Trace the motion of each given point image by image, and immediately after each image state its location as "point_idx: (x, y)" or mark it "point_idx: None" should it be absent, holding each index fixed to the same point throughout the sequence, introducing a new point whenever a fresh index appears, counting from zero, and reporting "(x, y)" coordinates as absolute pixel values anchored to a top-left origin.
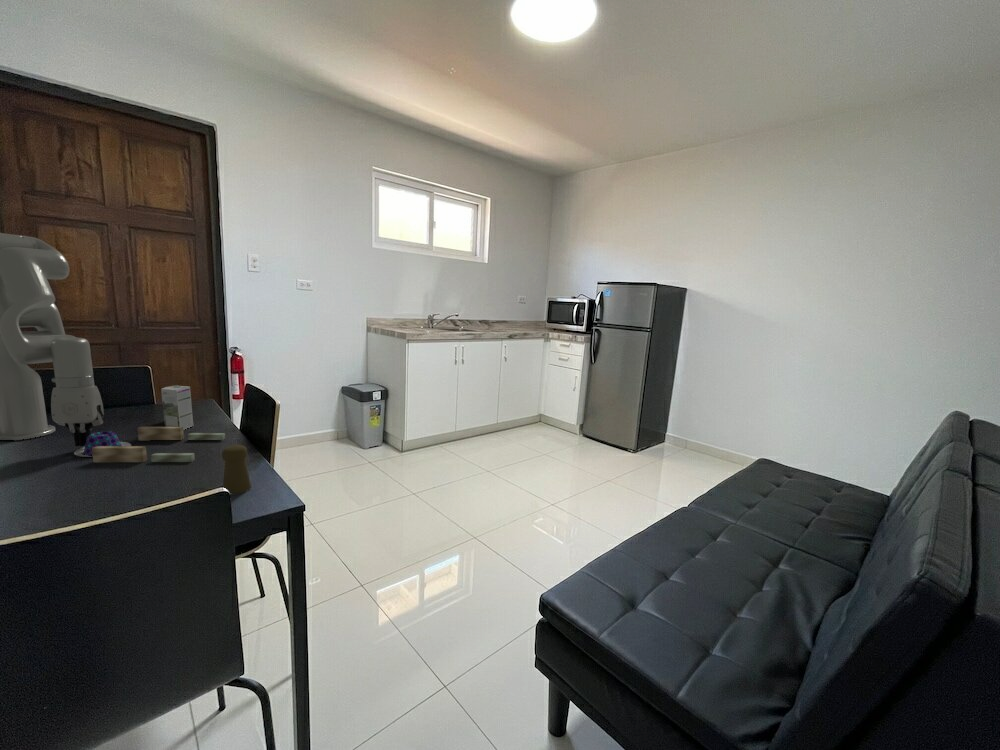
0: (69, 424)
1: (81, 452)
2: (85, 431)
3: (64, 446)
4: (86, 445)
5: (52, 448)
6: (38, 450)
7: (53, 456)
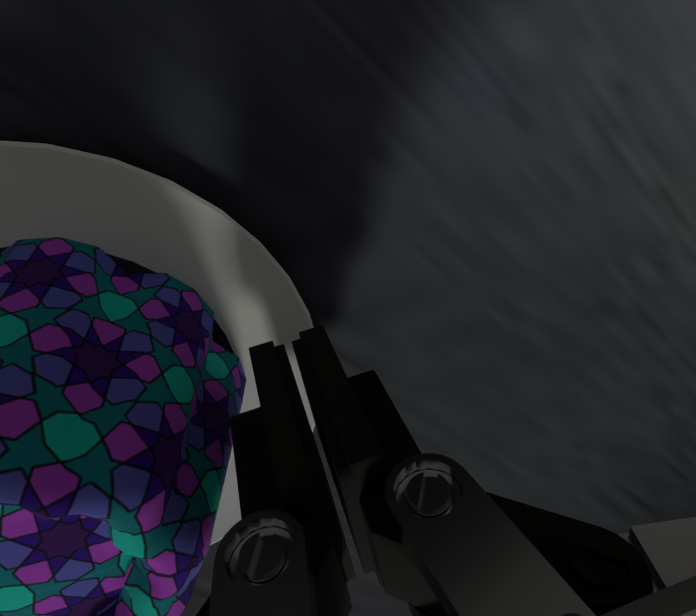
0: (544, 600)
1: (216, 282)
2: (226, 558)
3: (532, 351)
4: (125, 347)
5: (587, 288)
6: (659, 217)
7: (401, 106)
